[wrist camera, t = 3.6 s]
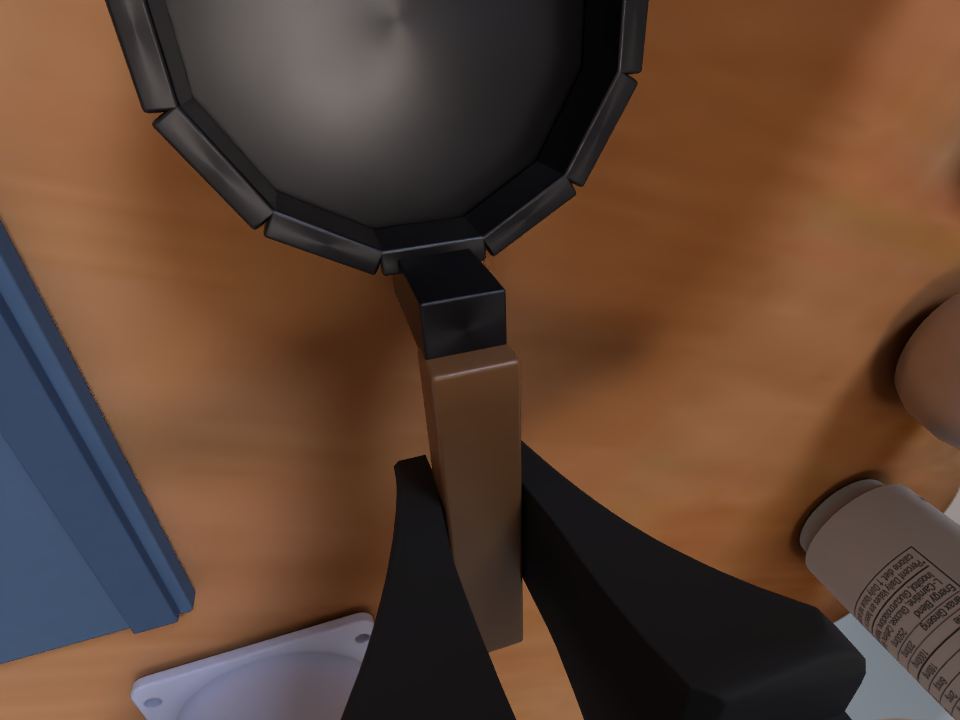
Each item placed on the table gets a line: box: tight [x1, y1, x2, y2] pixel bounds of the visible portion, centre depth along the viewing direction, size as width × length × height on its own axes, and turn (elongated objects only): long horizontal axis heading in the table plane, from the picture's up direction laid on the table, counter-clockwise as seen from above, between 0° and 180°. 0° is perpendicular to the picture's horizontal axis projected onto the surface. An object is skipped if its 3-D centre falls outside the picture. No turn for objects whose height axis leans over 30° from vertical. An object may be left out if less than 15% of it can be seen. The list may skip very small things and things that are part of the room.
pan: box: [105, 0, 649, 652], centre depth 10 cm, size 16×8×5 cm, turn 3°
